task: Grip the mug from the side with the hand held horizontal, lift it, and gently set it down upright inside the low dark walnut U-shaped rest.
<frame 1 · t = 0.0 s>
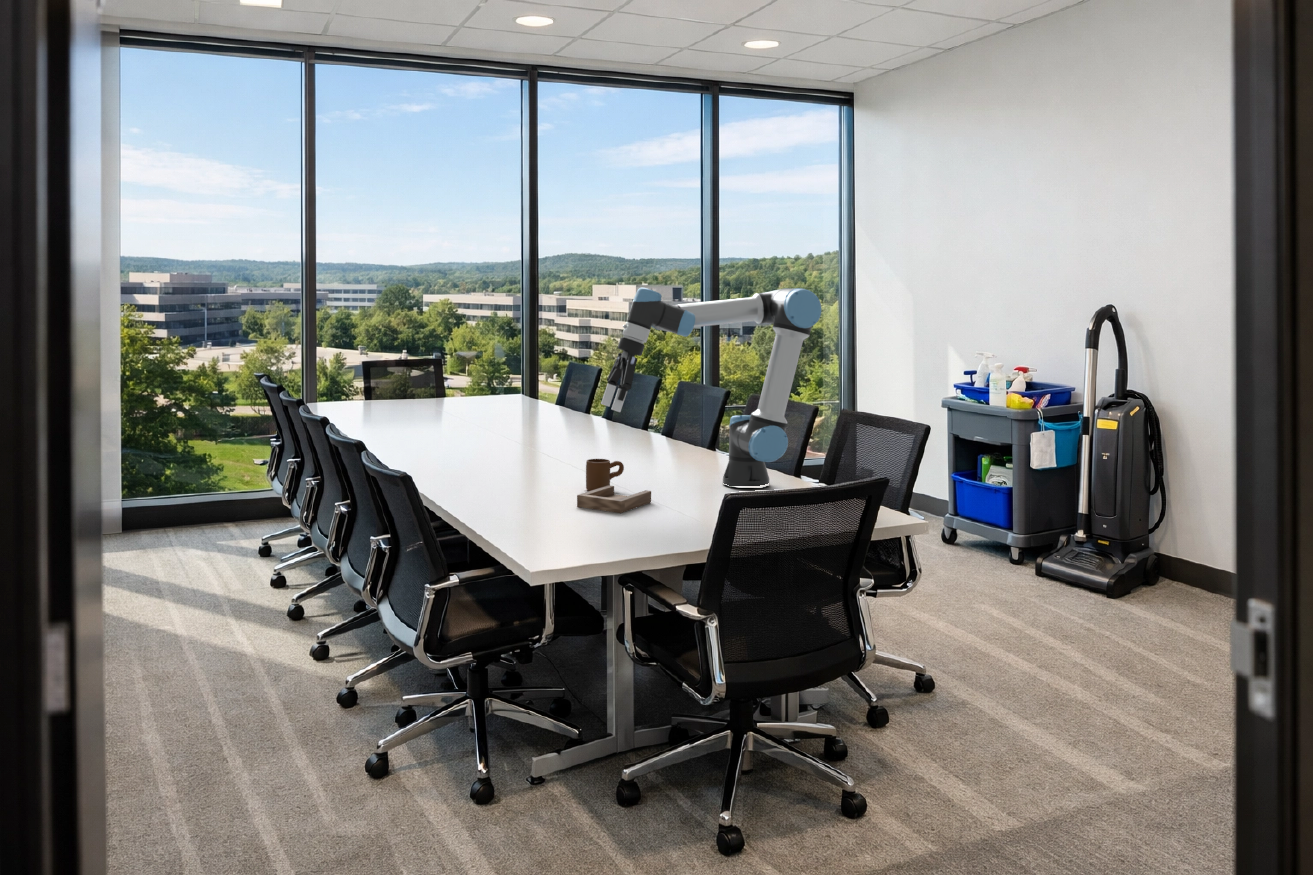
hand: (610, 408, 297), 28 cm above the table, tool tilted 20°, fingers open, 13 cm apart
u rest: (614, 504, 295), on the table
mug: (604, 490, 316), on the table
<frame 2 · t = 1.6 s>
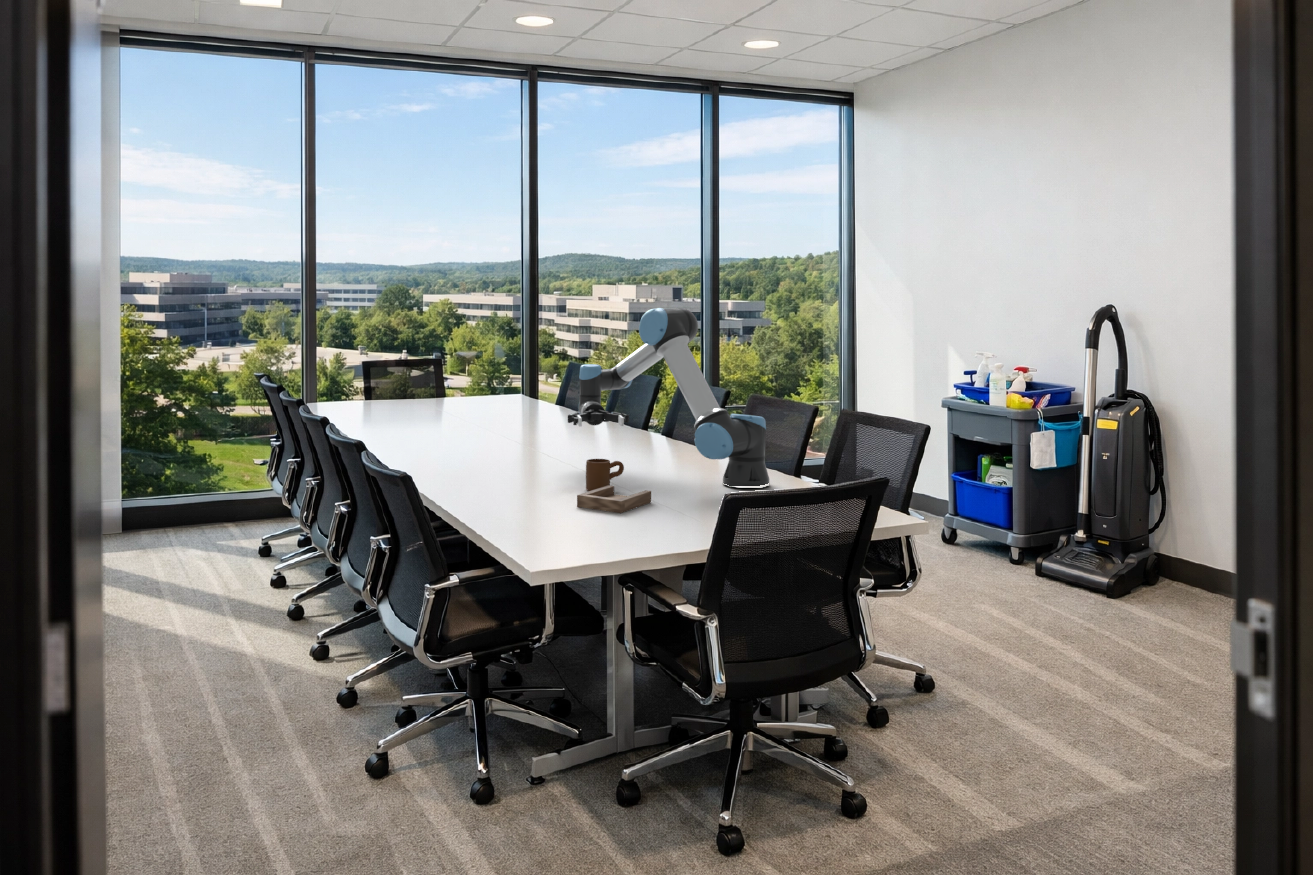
hand: (601, 422, 322), 20 cm above the table, tool horizontal, fingers open, 13 cm apart
nothing on the table moved.
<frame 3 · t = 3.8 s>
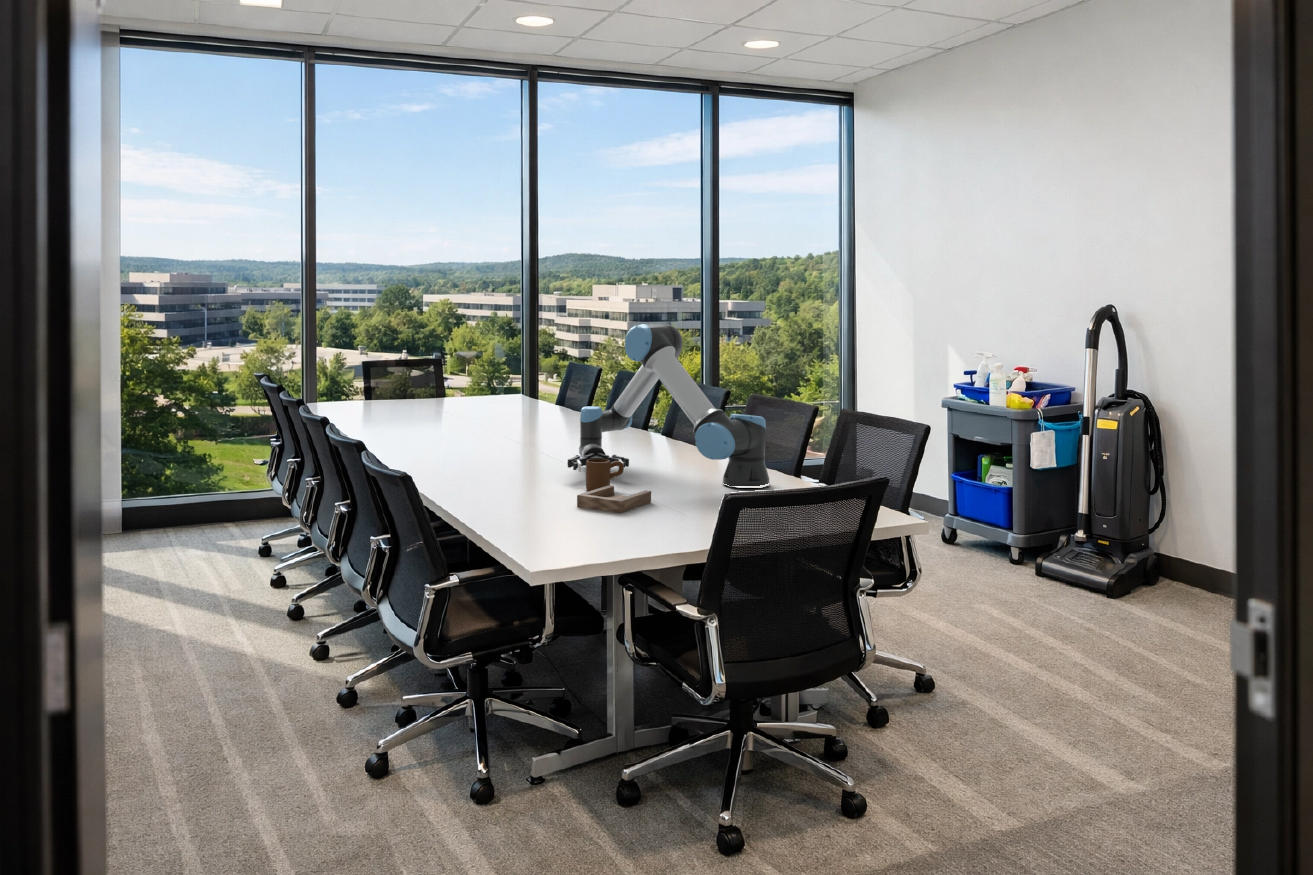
hand: (601, 467, 322), 6 cm above the table, tool horizontal, fingers open, 13 cm apart
nothing on the table moved.
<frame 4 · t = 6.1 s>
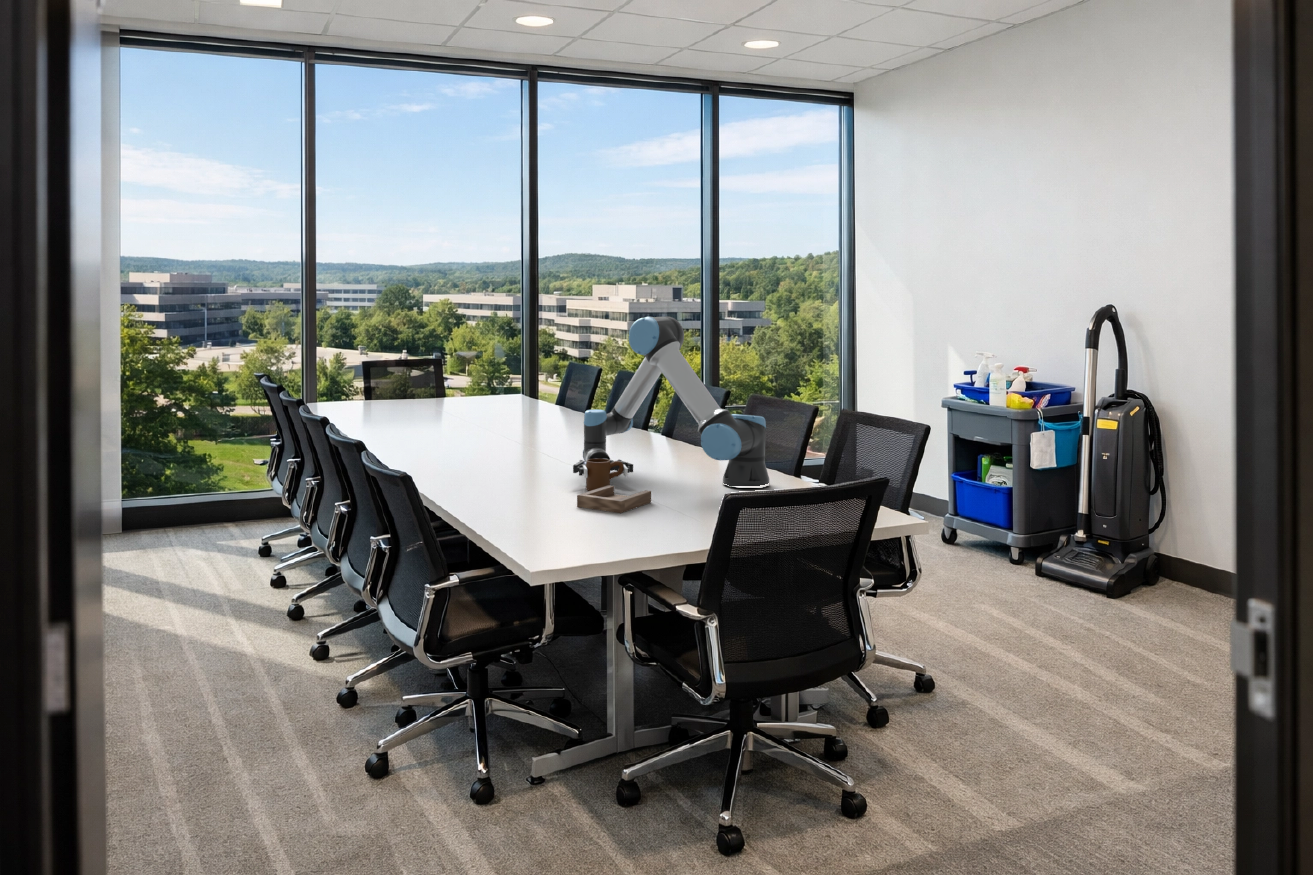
hand: (606, 473, 312), 6 cm above the table, tool horizontal, fingers closed on mug, 12 cm apart
mug: (605, 490, 316), on the table, touching gripper
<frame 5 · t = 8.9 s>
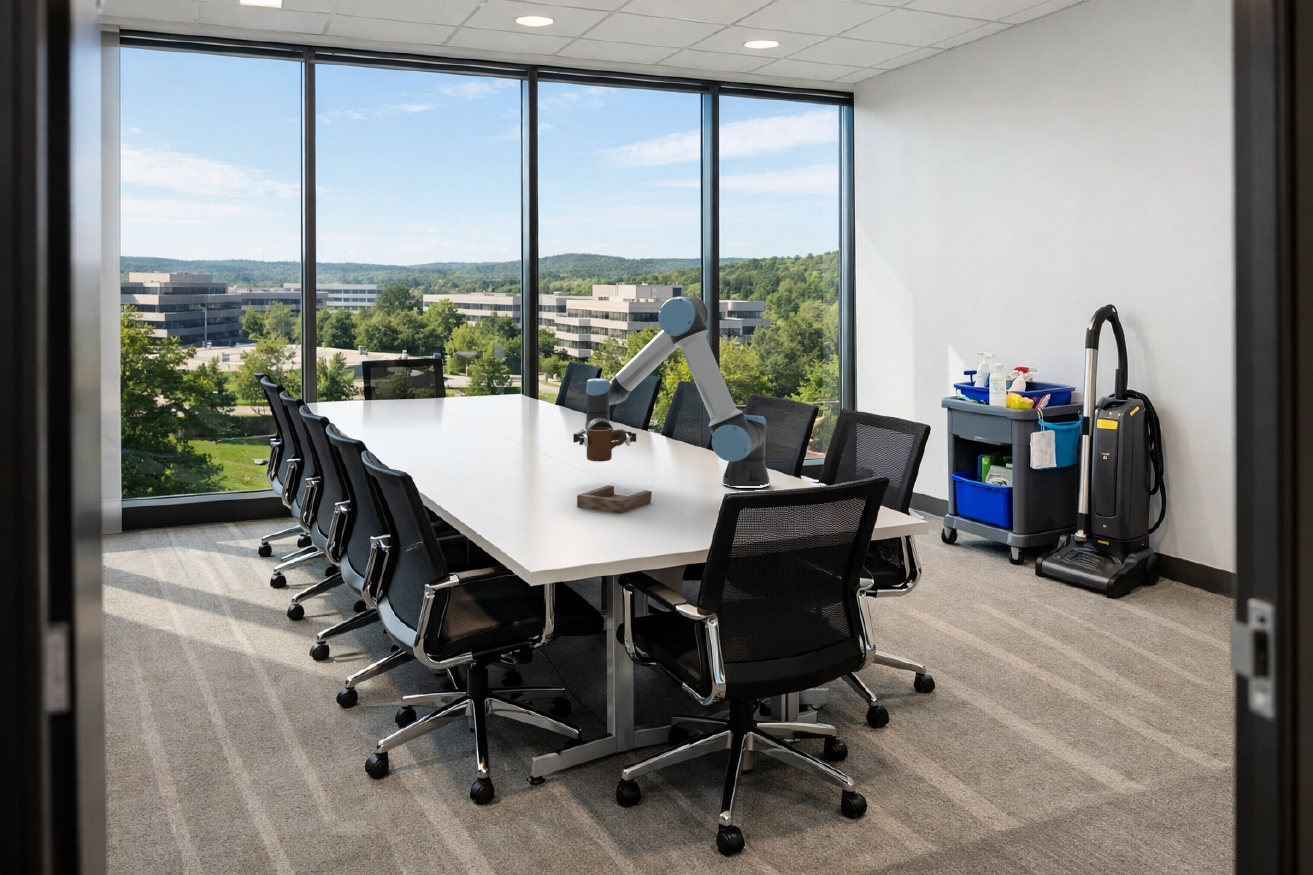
hand: (607, 441, 298), 18 cm above the table, tool horizontal, fingers closed on mug, 12 cm apart
mug: (606, 460, 302), point 12 cm above the table, touching gripper
when the fingers open (9 cm above the table, at t = 11.8 s): mug drops 2 cm, resting on u rest.
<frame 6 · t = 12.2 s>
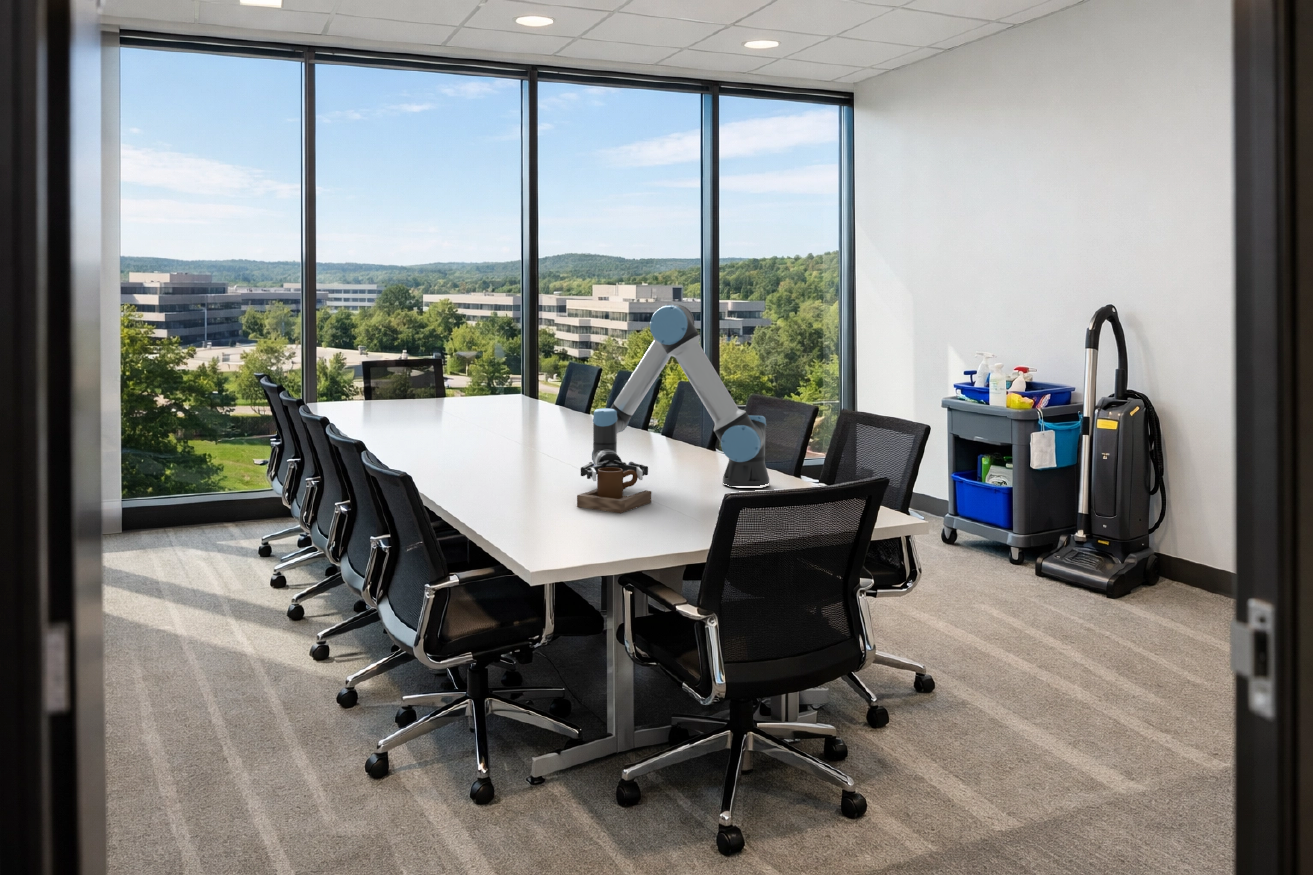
hand: (618, 476, 291), 9 cm above the table, tool horizontal, fingers open, 13 cm apart
mug: (617, 501, 296), point 1 cm above the table, touching u rest
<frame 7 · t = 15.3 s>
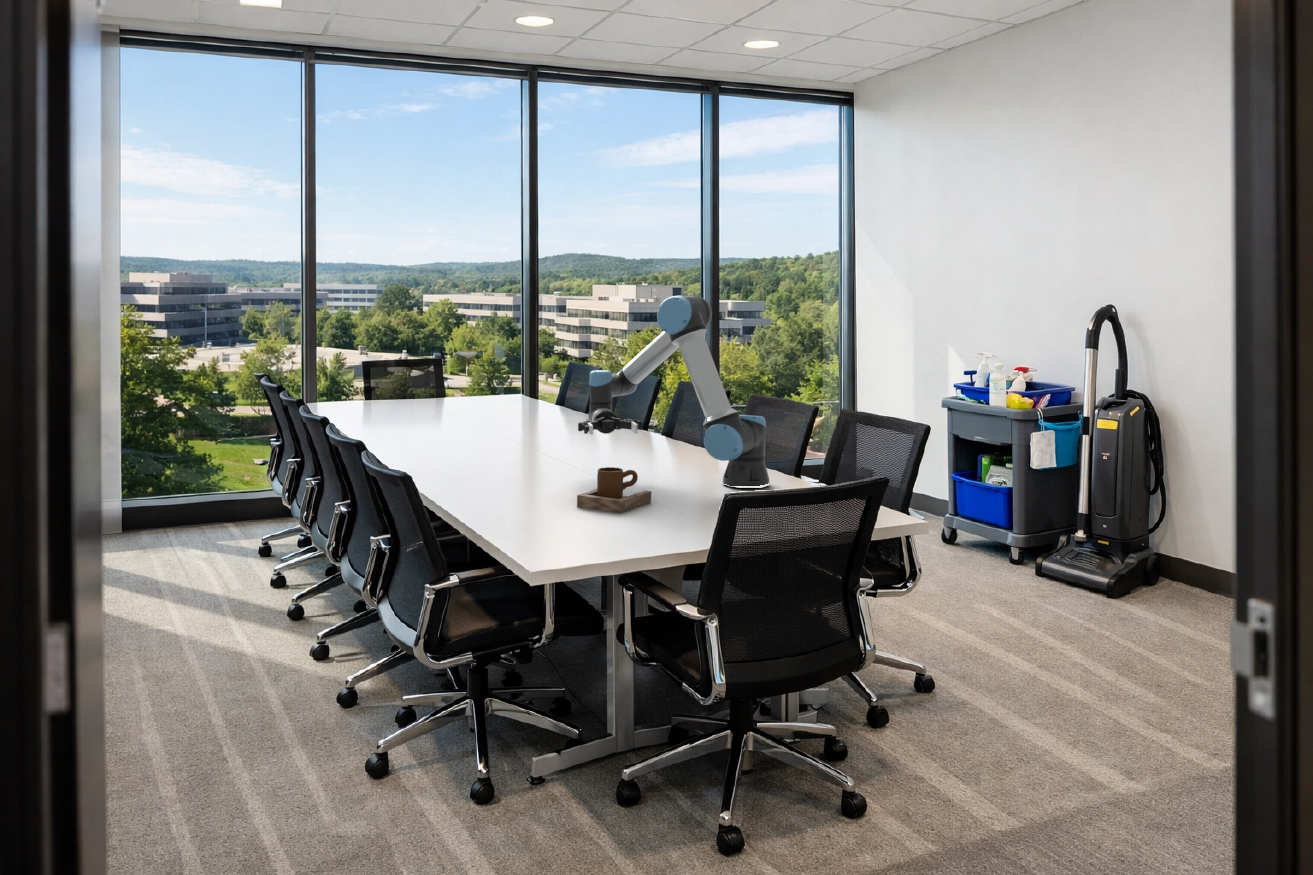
hand: (614, 429, 306), 20 cm above the table, tool horizontal, fingers open, 13 cm apart
nothing on the table moved.
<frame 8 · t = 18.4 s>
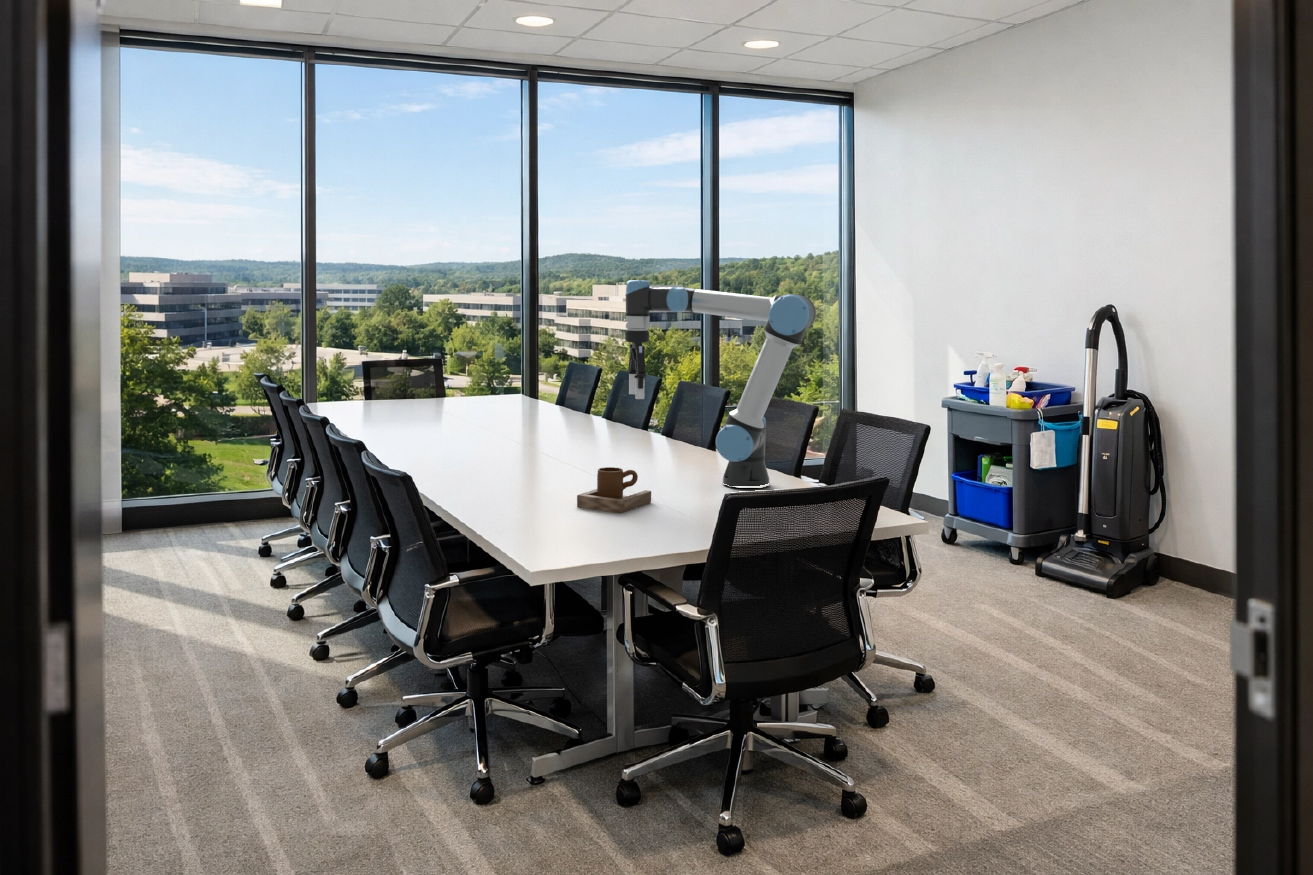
hand: (636, 396, 320), 29 cm above the table, tool pointing down, fingers open, 13 cm apart
nothing on the table moved.
at the end: mug inside the target area on the u rest (0.3 cm from its centre), point 0.8 cm above the u rest's base; mug tilted 0°; the gripper is holding nothing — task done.
